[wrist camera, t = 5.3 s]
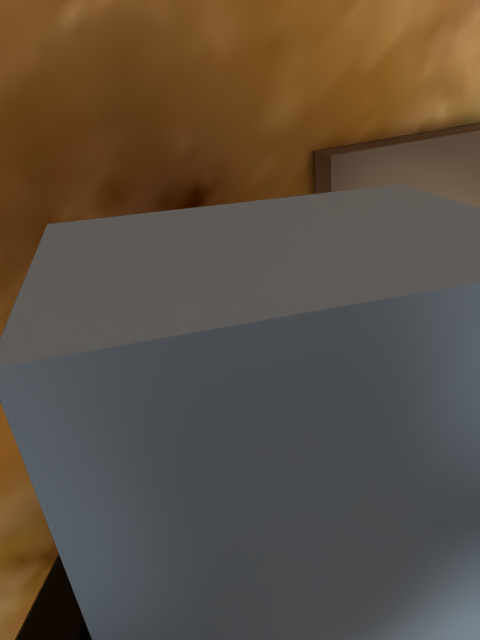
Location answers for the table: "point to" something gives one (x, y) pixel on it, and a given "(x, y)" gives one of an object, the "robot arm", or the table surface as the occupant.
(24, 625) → the robot arm
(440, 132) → the walnut shelf
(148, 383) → the grey rectangular block
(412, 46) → the table surface
